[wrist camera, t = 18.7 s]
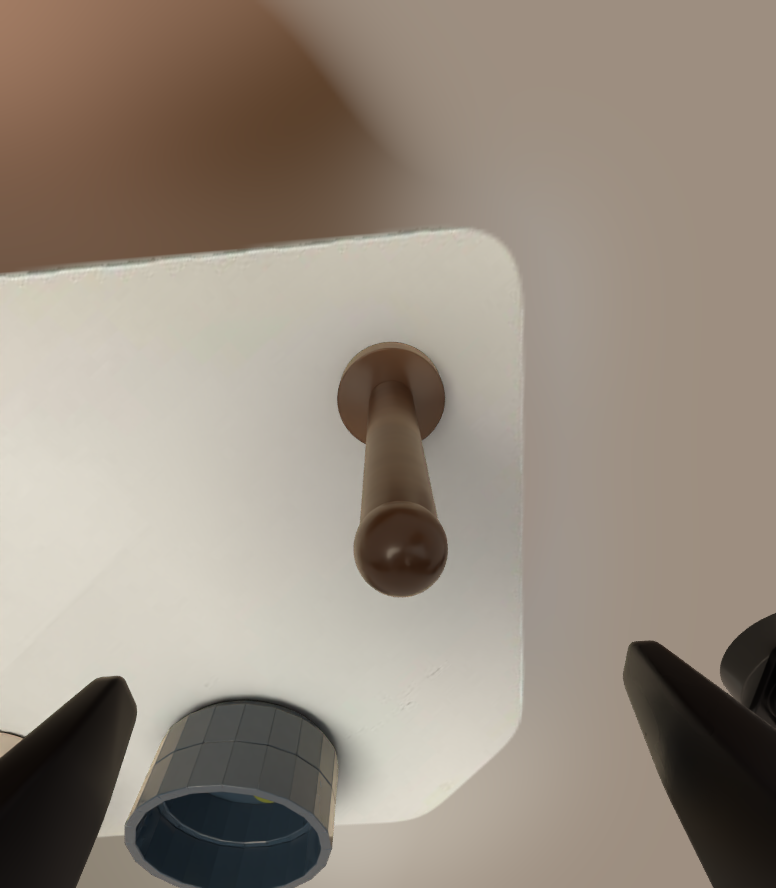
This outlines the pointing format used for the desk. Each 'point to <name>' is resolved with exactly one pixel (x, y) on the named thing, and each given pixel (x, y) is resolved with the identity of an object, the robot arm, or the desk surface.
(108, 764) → the robot arm
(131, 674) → the desk surface
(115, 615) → the desk surface
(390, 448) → the stirring stick
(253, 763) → the bowl
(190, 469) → the desk surface
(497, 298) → the desk surface
